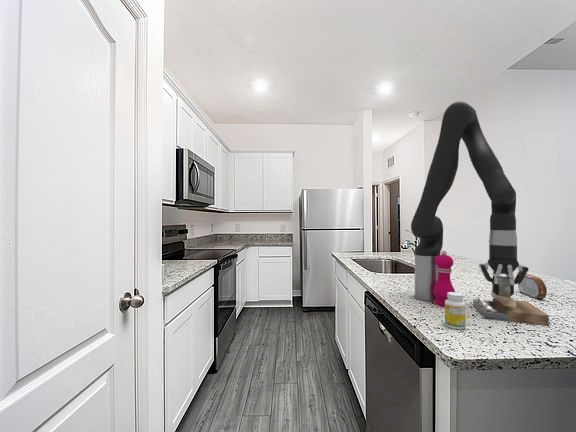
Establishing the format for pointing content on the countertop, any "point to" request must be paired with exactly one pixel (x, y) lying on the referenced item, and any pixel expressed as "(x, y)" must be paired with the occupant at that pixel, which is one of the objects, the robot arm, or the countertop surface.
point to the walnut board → (523, 313)
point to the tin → (533, 287)
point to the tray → (490, 314)
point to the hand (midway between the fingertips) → (503, 294)
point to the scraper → (504, 292)
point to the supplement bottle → (455, 311)
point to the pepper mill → (443, 278)
